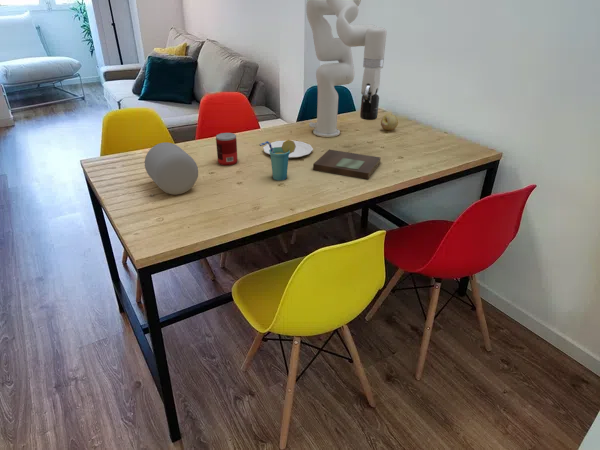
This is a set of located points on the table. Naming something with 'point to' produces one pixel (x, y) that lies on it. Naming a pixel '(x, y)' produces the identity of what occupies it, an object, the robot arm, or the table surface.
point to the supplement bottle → (373, 109)
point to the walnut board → (347, 164)
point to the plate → (299, 150)
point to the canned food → (226, 149)
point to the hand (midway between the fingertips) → (369, 109)
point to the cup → (280, 158)
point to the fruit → (389, 122)
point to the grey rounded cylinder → (171, 168)
